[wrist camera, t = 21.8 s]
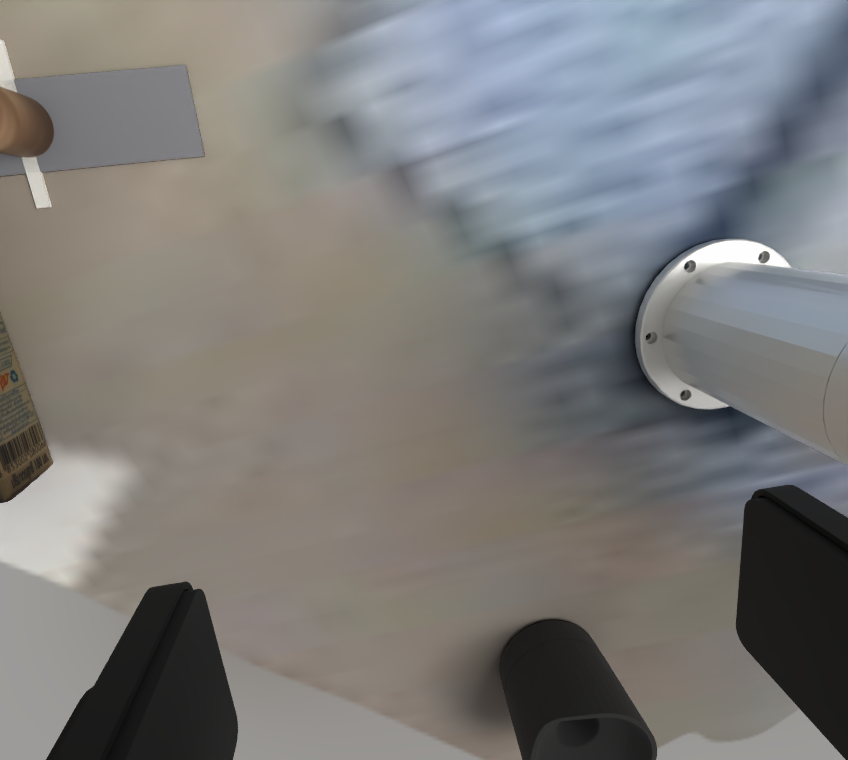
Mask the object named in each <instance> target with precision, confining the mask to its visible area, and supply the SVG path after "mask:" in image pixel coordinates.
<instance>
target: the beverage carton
mask: <svg viewBox="0 0 848 760" xmlns="http://www.w3.org/2000/svg"><path fill="white" fill-rule="evenodd" d="M52 464H53V461H52V458H51V456H50V453H49V449H48V446H47V443H46V440H45V437H44V434H43V431H42V428H41V425H40V422H39V419H38V417H37V414H36V411H35V408H34V405H33V402H32V400H31V397H30V394H29V391H28V388H27V385H26V383H25V380H24V378H23V375H22V372H21V369H20V367H19V364H18V361H17V358H16V355H15V352H14V349H13V347H12V344H11V342H10V339H9V336H8V334H7V331H6V328H5V325H4V323H3V320H2V317H1V314H0V503H4V502H8V501H10V500H12V499H13V498H14V497H15V496H17V495H18V494H19V493H20V492H22V491H23V490H24V489H25V488H26V487H28V486H29V485H30V483H32V482H33V481H34V480H36V479H37V478H38V477H39V476H40V475H41V474H42V473H43V472H45V471H46V470H47V469H48V468H49V467H50V466H51V465H52Z"/></svg>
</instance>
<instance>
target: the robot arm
mask: <svg viewBox="0 0 848 760" xmlns="http://www.w3.org/2000/svg"><path fill="white" fill-rule="evenodd" d="M685 263H686V266H685ZM684 266H685V268H684ZM647 334H648V337H647V338H646V335H647ZM635 345H636V352H637V357H638V360H639V363H640V366H641V369H642V371H643V373H644V374H645V376H646V377H647V379H648V381H649V382H650V383H651V384H652V385H653V386H654V387H655V388H656V389H657V390H658V391H659V392H660V393H661V394H663V395H665V396H666V397H668V398H669V399H671V400H673V401H674V402H676V403H678V404H680V405H683V406H687V407H691V408H695V409H709V410H712V409H718V408H725V407H728V406H731V407H733V408H735V409H737V410H739V411H741V412H743V413H745V414H747V415H749V416H750V417H752V418H754V419H756V420H758V421H760V422H762V423H764V424H766V425H768V426H770V427H772V428H774V429H776V430H778V431H780V432H782V433H784V434H786V435H788V436H790V437H792V438H794V439H796V440H798V441H800V442H801V443H803V444H805V445H807V446H809V447H811V448H813V449H815V450H817V451H819V452H821V453H823V454H825V455H827V456H829V457H831V458H833V459H835V460H837V461H839V462H841V463H843V464H845V465H847V466H848V275H846V274H838V273H830V272H821V271H813V270H804V269H796V268H792V267H791V266H790V265H789V263H788V262H787V261H786V260H785V258H784V257H783V256H781V255H780V254H779V253H778V252H776V251H775V250H774V249H772V248H770V247H768V246H766V245H764V244H762V243H760V242H756V241H751V240H746V239H732V238H727V239H719V240H712V241H709V242H706V243H702V244H699V245H696V246H695V247H693V248H691V249H689V250H687V251H685V252H684V253H682V254H680V255H679V256H678V257H677V258H675V259H674V260H673V261H672V262H670V263H669V264H668V265H667V266H666V267H665V268H664V269H663V270H662V271H661V273H660V274H659V275H658V276H657V277H656V278H655V280H654V281H653V283H652V285H651V286H650V288H649V289H648V291H647V292H646V295H645V297H644V299H643V302H642V304H641V306H640V309H639V313H638V317H637V322H636V329H635ZM736 629H737V634H738V636H739V639H740V641H741V643H742V644H743V646H744V647H745V648H746V650H747V651H748V652H749V653H750V654H751V655H752V656H753V657H754V659H755V660H756V661H757V662H758V663H759V664H760V665H761V666H762V667H763V668H764V670H765V671H766V672H767V673H768V674H769V675H770V676H771V677H772V678H773V680H774V681H775V682H776V683H777V684H778V685H779V686H780V687H781V688H782V690H783V691H784V692H785V693H786V694H787V695H788V696H789V697H790V698H791V699H792V701H793V702H794V703H795V704H796V705H797V706H798V707H799V708H800V709H801V711H802V712H803V713H804V714H805V715H806V716H807V717H808V718H809V719H810V720H811V722H812V723H813V724H814V725H815V726H816V727H817V728H818V729H819V730H820V732H821V733H822V734H823V735H824V736H825V737H826V738H827V739H828V740H829V742H830V743H831V744H832V745H833V746H834V747H835V748H836V749H837V750H838V751H839V753H840V754H841V755H842V756H843V757H844V758H845V759H846V760H848V518H847V517H845V516H844V515H842V514H840V513H839V512H837V511H835V510H834V509H832V508H831V507H829V506H827V505H826V504H824V503H822V502H821V501H819V500H818V499H816V498H814V497H813V496H811V495H809V494H808V493H806V492H804V491H803V490H801V489H800V488H798V487H796V486H793V485H784V486H778V487H772V488H766V489H759V490H757V491H755V492H754V494H753V495H752V498H751V500H749V501H747V503H746V504H745V509H744V523H743V536H742V550H741V563H740V576H739V590H738V603H737V617H736ZM237 734H238V723H237V716H236V711H235V707H234V704H233V700H232V696H231V693H230V688H229V685H228V681H227V677H226V673H225V669H224V666H223V662H222V658H221V654H220V650H219V647H218V643H217V639H216V635H215V631H214V628H213V624H212V620H211V616H210V613H209V609H208V605H207V601H206V597H205V594H204V592H203V591H202V590H201V589H196V590H193V588H192V586H191V585H190V583H188V582H181V583H175V584H169V585H163V586H156V587H152V588H149V589H148V590H147V592H146V593H145V595H144V597H143V599H142V600H141V602H140V604H139V606H138V608H137V609H136V611H135V613H134V615H133V617H132V618H131V620H130V622H129V624H128V626H127V627H126V629H125V631H124V633H123V635H122V636H121V638H120V640H119V642H118V644H117V645H116V647H115V649H114V651H113V653H112V654H111V656H110V658H109V660H108V662H107V663H106V665H105V667H104V669H103V671H102V672H101V674H100V676H99V678H98V680H97V681H96V683H95V685H94V686H93V687H92V688H91V689H89V690H88V691H86V693H85V694H84V695H83V697H82V698H81V699H80V701H79V703H78V704H77V706H76V708H75V710H74V711H73V713H72V715H71V717H70V718H69V720H68V722H67V724H66V726H65V727H64V729H63V731H62V733H61V734H60V736H59V738H58V740H57V741H56V743H55V745H54V747H53V748H52V750H51V752H50V754H49V756H48V757H47V759H46V760H233V756H234V752H235V748H236V743H237Z"/></svg>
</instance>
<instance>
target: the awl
mask: <svg viewBox="0 0 848 760" xmlns="http://www.w3.org/2000/svg"><path fill="white" fill-rule="evenodd" d="M53 137H54V127H53V123H52V120H51V118H50V116H49V114H48V112H47V111H46V110H45V108H44V107H43V106H42V105H41V104H39V103H38V102H37V101H35V100H34V99H32V98H30V97H27V96H25V95H22V94H19V93H17V92H14V91H11V90H8V89H6V88H3V87H0V153H3V154H9V155H14V156H20V157H27V158H29V157H36V156H39V155H41V154H43V153H44V152H46V151H47V150H48V149H49V147H50V146H51V144H52V141H53Z"/></svg>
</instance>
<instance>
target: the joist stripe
mask: <svg viewBox="0 0 848 760" xmlns="http://www.w3.org/2000/svg"><path fill="white" fill-rule="evenodd" d="M0 87H3V88H6V89H8V90H11V91H14V92H17V93H19V94H22V95H25V96H27V97H30V98H32V99H34V100H35V101H37V102H38V103H39V104H41V105H42V106H43V107H44V108H45V110H46V111H47V112H48V114H49V116H50V118H51V120H52V123H53V127H54V137H53V141H52V144H51V146H50V147H49V149H48V150H47V151H46V152H44V153H43V154H41V155H39V156H36V157H29V158H27V157H20V156H14V155H9V154H3V153H0V176H10V175H20V174H27V177H28V181H29V184H30V187H31V191H32V194H33V198H34V201H35V204H36V208H47V207H52V205H51V201H50V198H49V194H48V191H47V187H46V184H45V180H44V177H43V174H42V172H51V171H61V170H71V169H81V168H91V167H101V166H112V165H122V164H132V163H142V162H152V161H162V160H173V159H183V158H193V157H203V156H205V154H204V150H203V145H202V140H201V135H200V130H199V125H198V121H197V116H196V111H195V106H194V101H193V96H192V91H191V87H190V82H189V77H188V72H187V67H186V65H178V66H166V67H154V68H142V69H131V70H119V71H107V72H95V73H83V74H72V75H60V76H48V77H36V78H24V79H15V77H14V73H13V70H12V66H11V63H10V59H9V56H8V52H7V49H6V46H5V42H4V41H3V40H0Z"/></svg>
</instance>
